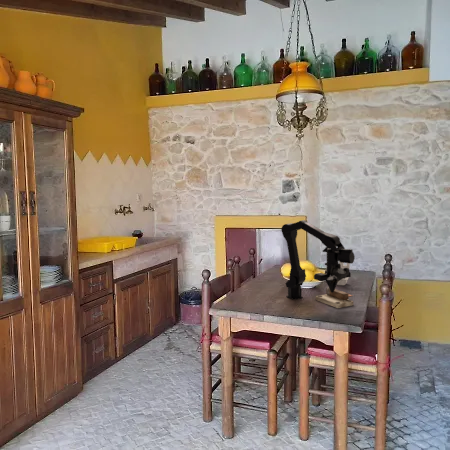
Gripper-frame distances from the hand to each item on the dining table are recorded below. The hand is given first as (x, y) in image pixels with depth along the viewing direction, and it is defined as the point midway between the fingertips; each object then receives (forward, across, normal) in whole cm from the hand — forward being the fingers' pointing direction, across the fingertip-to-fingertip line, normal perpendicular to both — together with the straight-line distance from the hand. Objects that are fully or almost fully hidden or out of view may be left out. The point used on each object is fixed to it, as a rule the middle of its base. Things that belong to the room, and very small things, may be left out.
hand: (332, 292), depth 217 cm
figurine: (+6, +31, +30) cm, 44 cm away
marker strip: (+6, +14, +9) cm, 18 cm away
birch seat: (+6, +3, +2) cm, 7 cm away
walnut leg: (+4, +6, +4) cm, 8 cm away
